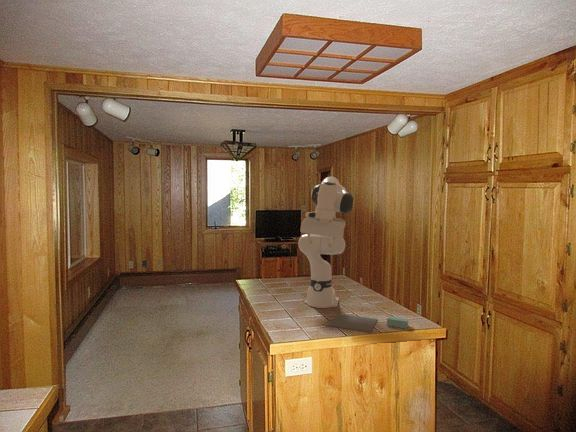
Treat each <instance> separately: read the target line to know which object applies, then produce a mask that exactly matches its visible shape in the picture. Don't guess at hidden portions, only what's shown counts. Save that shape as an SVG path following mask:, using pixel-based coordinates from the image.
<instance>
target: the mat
mask: <svg viewBox="0 0 576 432" xmlns="http://www.w3.org/2000/svg"><path fill="white" fill-rule="evenodd" d="M377 321H378V318H371V317H366V316H358V315H350V314H343V313H342V314H341V313H336V314H335V315H334V316H333V317H332V318H331V320H330V321H329V322H328V323H327V324H326V326H327V327H331V328H332V327H333V328H339V329H346V330H352V331H358V332H366V333H371V332H372V331H373V328H374V327H375V325H376V323H377Z"/></svg>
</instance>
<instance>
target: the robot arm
mask: <svg viewBox="0 0 576 432" xmlns="http://www.w3.org/2000/svg"><path fill="white" fill-rule="evenodd" d="M310 198H311V201H312V202H313V203H314V205H315V206H316V207H315V211H307V212H306V213H305V215H304V216H305V218H303V220H302V221H301V222H302V223H301V224H300V225H301V226H300V229H299V230H300V231H299V232H301V233H302V235H300V237H299V239H298V242H297V245H298V248H299V250H300V252H301V253H303V254H304V255H305V257H307V259H308V261H309V265H310V279H309V287H308V288H307V292H306V293H307V294H306V299H305V300H304V302H303V303H304V304H306V305H307V306H309V307H312V308H317V309H319V308H320V309H325V308H326V309H327V308H328V309H329V308H331V307H332V308H336V307H338V305H339V300H340V299H339V297H336V291H335V289H334V287H333V278H332V265H331V264H330V263H329V262H328V261H327V260H325V259H323V257H322V256H321V255H331V256H333V255H340V254H342V253H344V251H345V249H346V245H347V243H346V240H345V238H344V234H345V233H344V231H345V228H346V220H344V219H343V218H338V217H336V215H337V213H341V214H344V215H347V214H349V213H351V211H352V210H353V208H354V204H355V199H354V196H353V195H352V194H351V192H349V191H348V189H347V188H346V187H344V186H343V185H341V184H340V181H339V180H338V178H337V177H336V176H327V177H325V178H324V179H322V181H321V183H319V184H317V185H315V186H314V187H313V188H312V189H311V193H310Z"/></svg>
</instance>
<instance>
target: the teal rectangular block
mask: <svg viewBox="0 0 576 432" xmlns="http://www.w3.org/2000/svg"><path fill="white" fill-rule="evenodd" d="M386 326H387V327H392V326H395V327H394V328H399V327H400V329H406V328H407V329H408V326H409V318H405V317H397V316H391V315H390V316H389V315H388V316H387V319H386Z"/></svg>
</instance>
